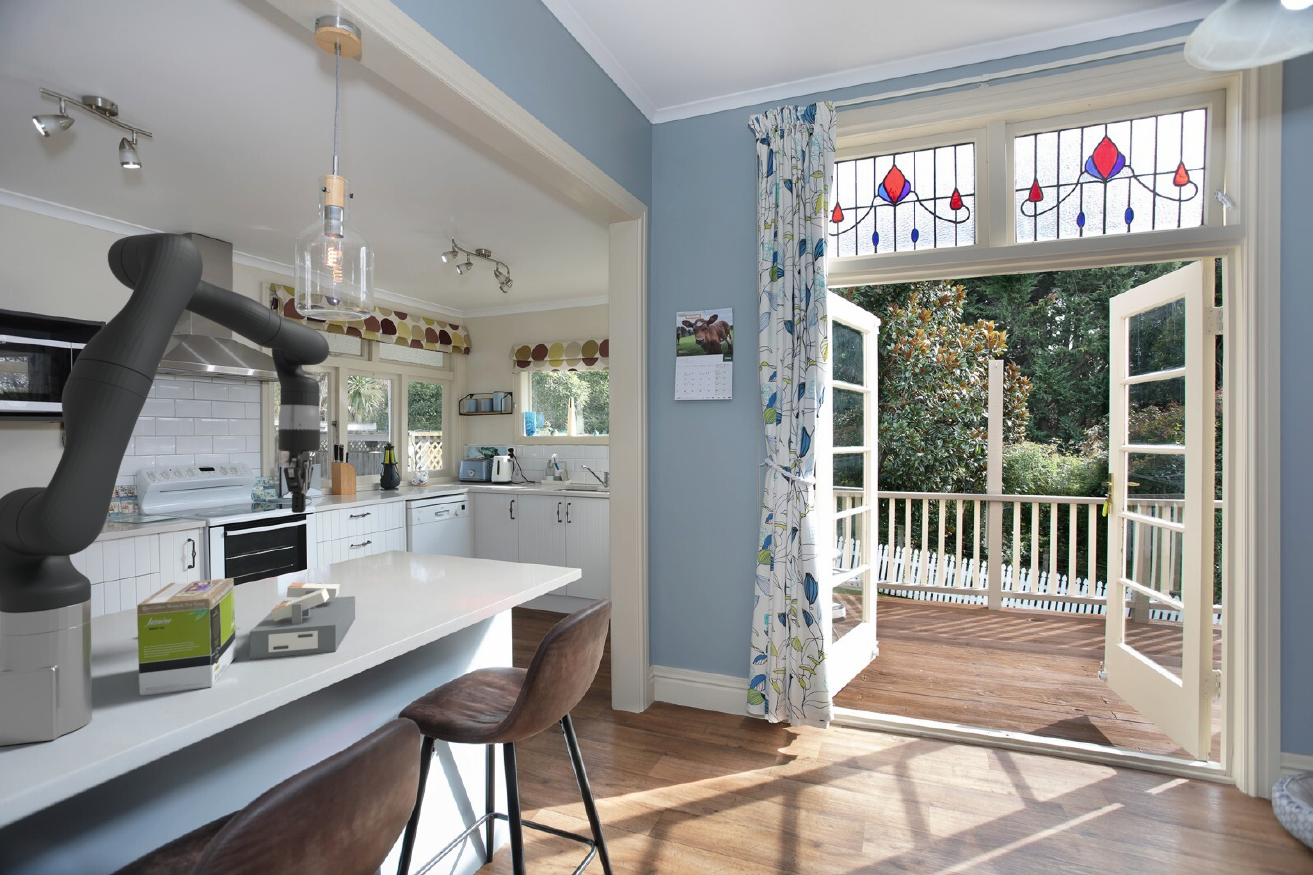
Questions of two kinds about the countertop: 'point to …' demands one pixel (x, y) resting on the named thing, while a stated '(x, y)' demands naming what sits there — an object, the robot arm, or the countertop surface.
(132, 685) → the countertop surface
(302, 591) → the rocker far
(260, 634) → the console
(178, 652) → the tea box
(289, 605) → the rocker near
